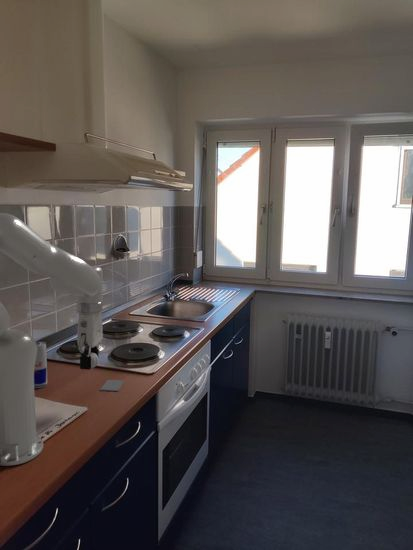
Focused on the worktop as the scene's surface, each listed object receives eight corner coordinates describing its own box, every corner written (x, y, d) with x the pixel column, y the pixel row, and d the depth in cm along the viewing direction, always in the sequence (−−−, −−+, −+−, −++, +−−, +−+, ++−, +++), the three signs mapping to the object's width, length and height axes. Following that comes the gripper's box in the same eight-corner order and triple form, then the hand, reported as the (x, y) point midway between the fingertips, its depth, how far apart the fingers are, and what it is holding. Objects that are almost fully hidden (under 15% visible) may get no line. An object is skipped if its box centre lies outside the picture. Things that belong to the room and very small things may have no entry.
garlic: (83, 363, 134) (83, 347, 133) (101, 364, 134) (101, 348, 133) (77, 370, 128) (77, 353, 127) (95, 371, 128) (95, 354, 127)
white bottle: (29, 385, 146) (27, 343, 144) (43, 381, 150) (42, 340, 147) (35, 390, 142) (33, 347, 140) (50, 385, 146) (48, 343, 144)
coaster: (117, 391, 143) (117, 390, 143) (100, 390, 144) (100, 389, 144) (124, 381, 151) (124, 380, 151) (107, 380, 151) (107, 379, 151)
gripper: (92, 314, 120) (91, 376, 122) (110, 302, 137) (109, 356, 139) (65, 313, 120) (66, 374, 123) (87, 301, 137) (87, 355, 140)
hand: (89, 364), depth 131 cm, fingers closed on garlic, 6 cm apart
